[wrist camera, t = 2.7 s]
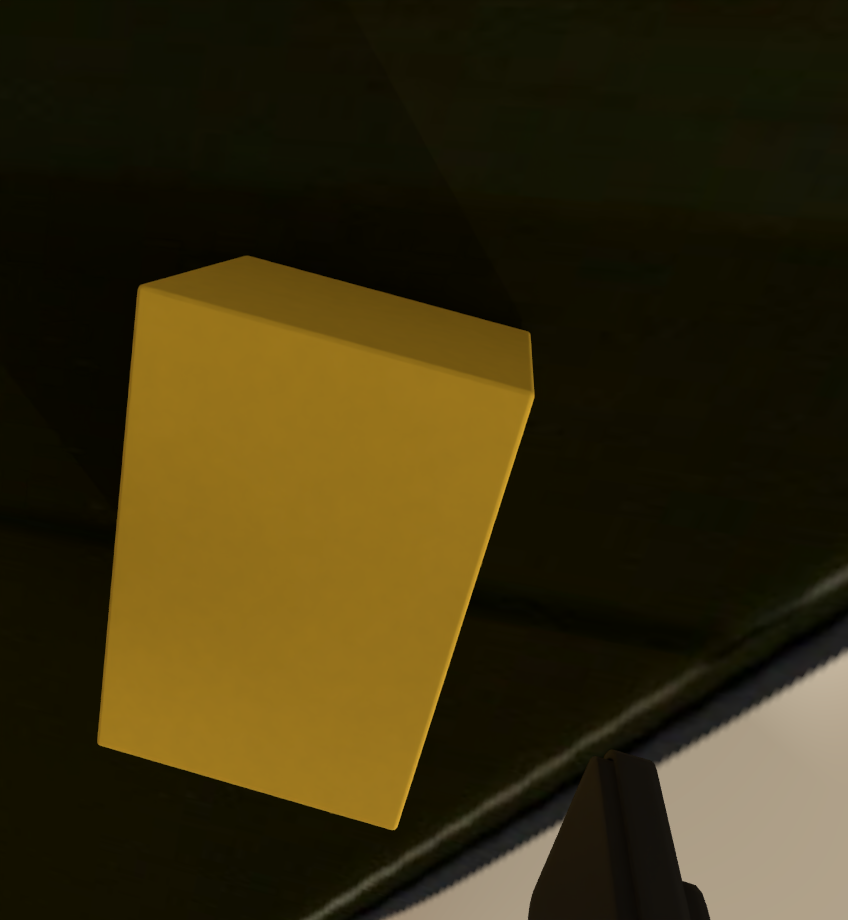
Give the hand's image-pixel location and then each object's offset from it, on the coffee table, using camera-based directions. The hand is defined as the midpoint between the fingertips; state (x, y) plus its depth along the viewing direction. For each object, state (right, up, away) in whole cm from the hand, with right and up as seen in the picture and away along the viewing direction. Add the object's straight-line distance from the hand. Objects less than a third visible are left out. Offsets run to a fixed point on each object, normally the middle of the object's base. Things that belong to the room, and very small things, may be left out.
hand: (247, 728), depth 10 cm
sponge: (+1, +3, +6) cm, 7 cm away
